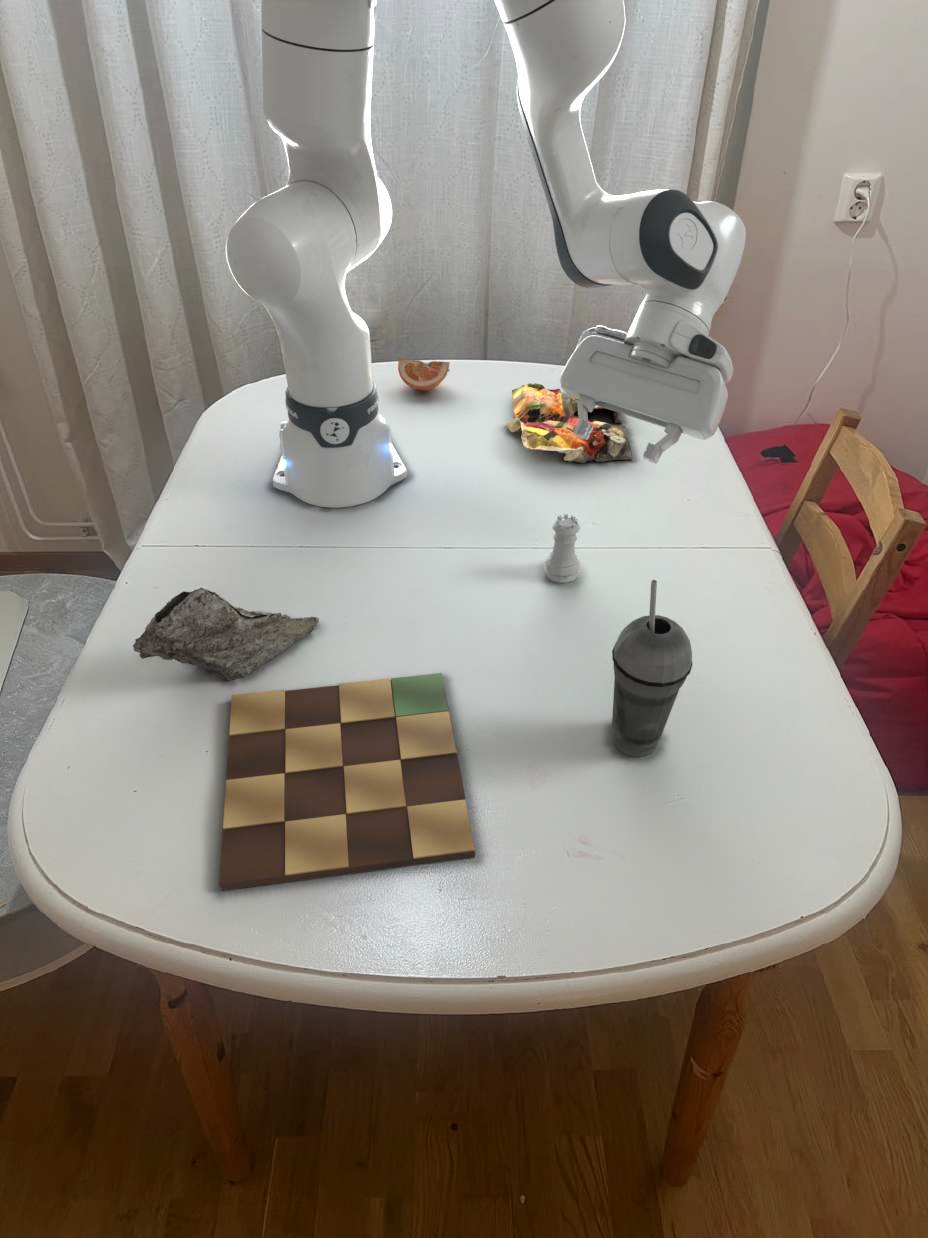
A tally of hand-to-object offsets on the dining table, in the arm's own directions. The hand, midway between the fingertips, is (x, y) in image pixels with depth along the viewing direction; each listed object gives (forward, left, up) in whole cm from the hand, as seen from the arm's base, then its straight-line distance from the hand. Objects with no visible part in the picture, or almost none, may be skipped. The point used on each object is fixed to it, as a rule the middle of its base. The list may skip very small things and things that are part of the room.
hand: (614, 448), depth 103 cm
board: (+34, -35, -13) cm, 51 cm away
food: (-28, +2, -13) cm, 31 cm away
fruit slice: (-44, -18, -13) cm, 49 cm away
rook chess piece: (+7, -7, -13) cm, 17 cm away
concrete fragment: (+16, -46, -13) cm, 51 cm away
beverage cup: (+34, -6, -13) cm, 37 cm away
